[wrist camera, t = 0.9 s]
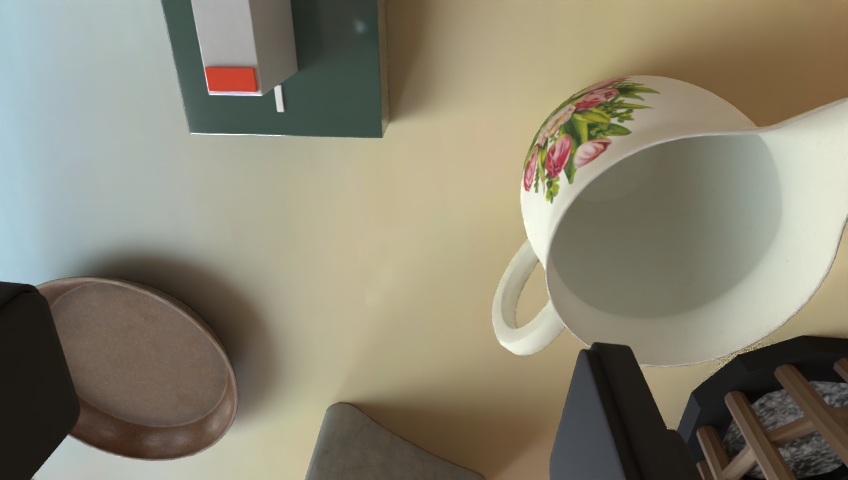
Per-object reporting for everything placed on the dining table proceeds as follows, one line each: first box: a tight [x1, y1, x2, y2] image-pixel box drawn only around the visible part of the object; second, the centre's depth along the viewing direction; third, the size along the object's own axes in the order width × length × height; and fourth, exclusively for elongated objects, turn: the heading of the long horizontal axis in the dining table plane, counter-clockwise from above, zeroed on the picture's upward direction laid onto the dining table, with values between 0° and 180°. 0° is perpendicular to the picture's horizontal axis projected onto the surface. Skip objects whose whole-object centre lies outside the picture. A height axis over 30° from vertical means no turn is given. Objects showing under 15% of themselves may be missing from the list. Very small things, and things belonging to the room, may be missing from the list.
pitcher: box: [492, 75, 848, 367], centre depth 26 cm, size 11×18×14 cm, turn 142°
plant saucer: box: [35, 276, 238, 461], centre depth 40 cm, size 18×18×3 cm
